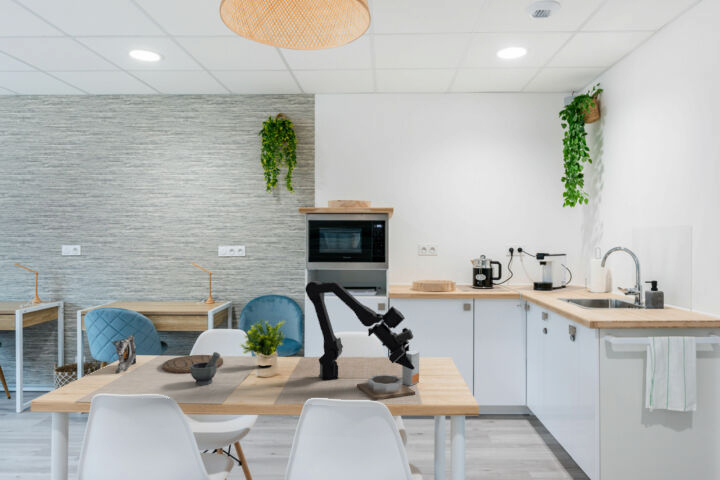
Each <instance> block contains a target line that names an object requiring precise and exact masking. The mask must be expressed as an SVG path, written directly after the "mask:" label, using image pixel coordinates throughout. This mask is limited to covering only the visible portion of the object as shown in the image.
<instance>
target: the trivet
mask: <svg viewBox="0 0 720 480" xmlns="http://www.w3.org/2000/svg"><path fill="white" fill-rule="evenodd" d="M212 356H213V354H194V355H193V354H192V355H184V356H178V357H173V358H171V359H167V360H165V361H164V362H163V363H162V371H164V372H166V373H171V374H191V371H190V367H191V365H193V364H196V363H202V362H209V361H210V359H211V358H212ZM216 364H217V369H218V368H220V367H222V366H223V364H224V359H223V357H221V356H220V357H219V358H218V359H217V362H216Z"/></svg>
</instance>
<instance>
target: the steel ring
mask: <svg viewBox="0 0 720 480" xmlns="http://www.w3.org/2000/svg"><path fill="white" fill-rule="evenodd" d="M367 381H368V382H367V383H368V388H369V389H371V390H372V391H373V392H380V393H393V392H399V391H400V390H401V389H402V386H403V385H404V384H403V380H402V377H401V378H400V377H399V376H397V375H390V374H379V375H372V376H371V377H369V378H368V380H367ZM384 383H385V384H384Z"/></svg>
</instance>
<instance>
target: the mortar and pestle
mask: <svg viewBox="0 0 720 480" xmlns="http://www.w3.org/2000/svg"><path fill="white" fill-rule="evenodd" d="M212 355H213V356H212V358H211V359H210V361H209V362H202V363H196V364H193V365H191V367H190V371H191V373H190V375H191V378H192V379H194V381H195V382H194V383H195V385H196V386H199V387H204V386H209V385H211V384H213V378H214V377H215V376H216V373H217V370H218V368H217V364H216V362H217V359H218V358H219V357H221V353H219V352H217V351H214V352H213V353H212Z"/></svg>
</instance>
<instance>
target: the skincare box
mask: <svg viewBox="0 0 720 480" xmlns="http://www.w3.org/2000/svg"><path fill="white" fill-rule="evenodd" d="M407 357H408V359H409V360H410V362H411V363H412V365H413V366H414V369H413V370H412V369H409V368H407V367H405V366H402V371H401V372H402V377H401V379H402V380H403V385H405V386H406V385H407V386H410V387H411V386H413V385H415V384H418V383H420V351H416V350H410V349H409V351H407Z"/></svg>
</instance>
